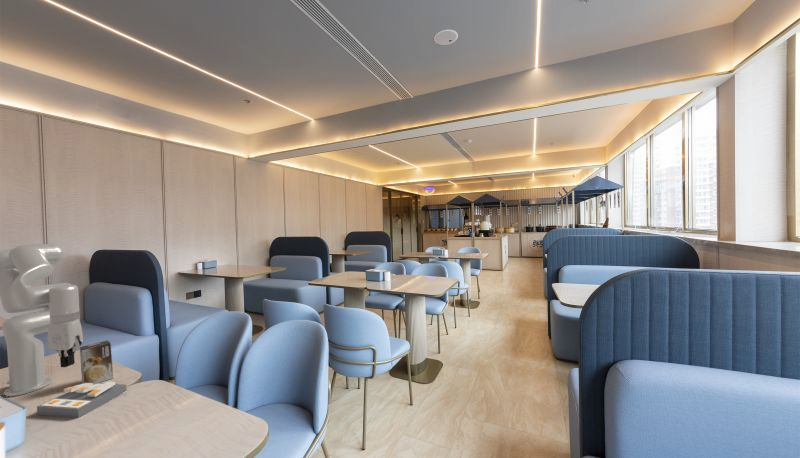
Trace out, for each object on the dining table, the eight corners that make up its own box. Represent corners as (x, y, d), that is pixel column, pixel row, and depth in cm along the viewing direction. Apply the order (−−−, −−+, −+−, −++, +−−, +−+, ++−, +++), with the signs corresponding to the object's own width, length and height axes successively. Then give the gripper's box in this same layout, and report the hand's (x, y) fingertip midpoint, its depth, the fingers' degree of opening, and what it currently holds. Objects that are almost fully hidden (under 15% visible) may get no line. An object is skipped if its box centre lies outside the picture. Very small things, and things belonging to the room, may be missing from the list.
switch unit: (37, 414, 107) (36, 404, 107) (89, 389, 123) (89, 380, 123) (78, 417, 104) (78, 407, 104) (126, 391, 120) (126, 382, 120)
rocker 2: (75, 392, 112) (76, 389, 112) (96, 386, 119) (97, 383, 119) (83, 392, 112) (83, 389, 112) (104, 386, 119) (104, 383, 119)
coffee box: (110, 374, 136) (108, 339, 135) (113, 378, 132) (111, 342, 131) (81, 383, 128) (79, 346, 128) (83, 388, 124) (81, 350, 124)
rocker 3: (87, 396, 111) (87, 393, 111) (108, 383, 118) (107, 381, 118) (95, 396, 111) (94, 394, 111) (115, 384, 118) (115, 381, 118)
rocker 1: (63, 391, 113) (64, 388, 113) (85, 385, 120) (85, 382, 120) (71, 392, 113) (71, 388, 113) (92, 386, 119) (93, 383, 120)
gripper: (35, 320, 110) (38, 369, 110) (69, 321, 108) (71, 371, 108) (61, 314, 117) (64, 360, 118) (93, 315, 115) (95, 361, 116)
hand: (67, 365), depth 113 cm, fingers closed
